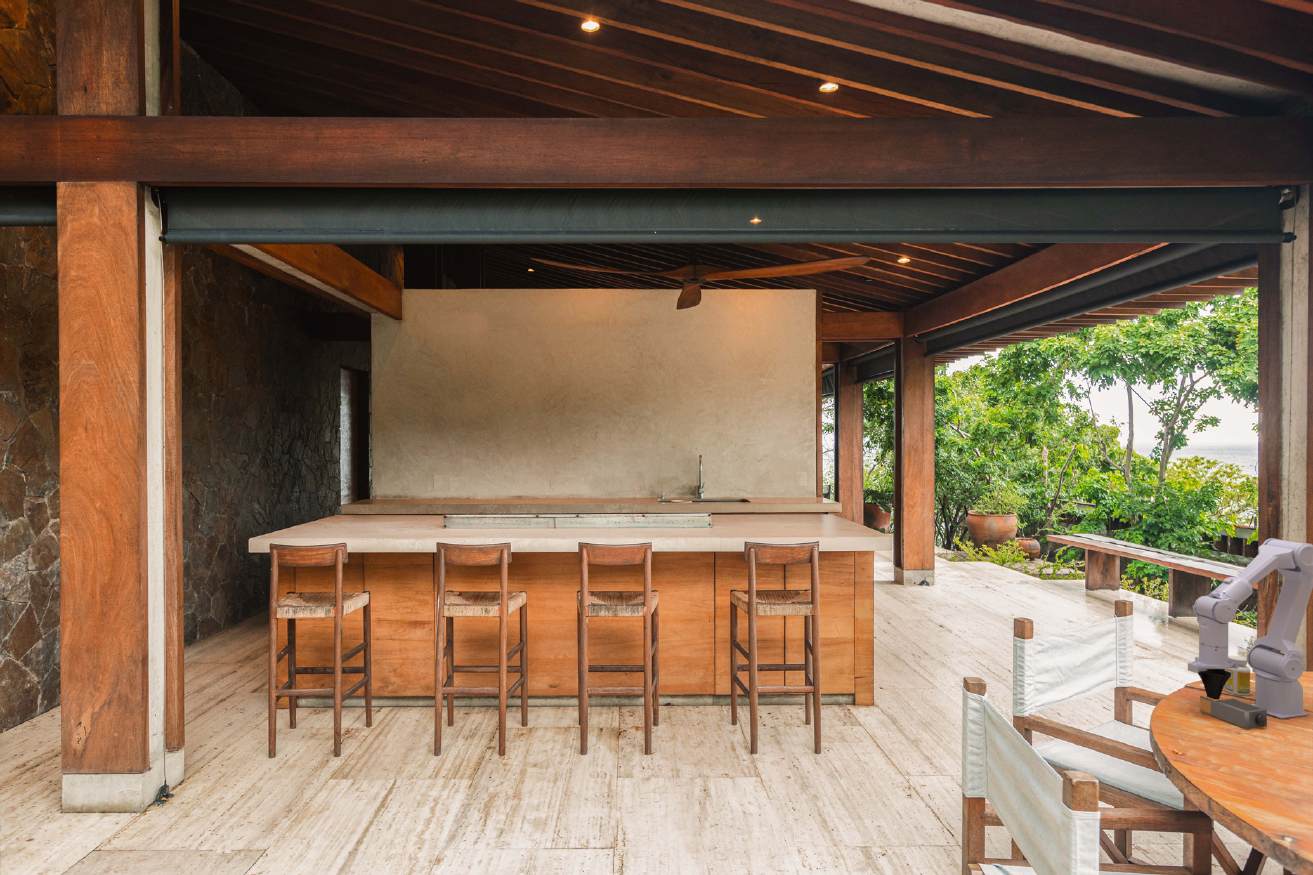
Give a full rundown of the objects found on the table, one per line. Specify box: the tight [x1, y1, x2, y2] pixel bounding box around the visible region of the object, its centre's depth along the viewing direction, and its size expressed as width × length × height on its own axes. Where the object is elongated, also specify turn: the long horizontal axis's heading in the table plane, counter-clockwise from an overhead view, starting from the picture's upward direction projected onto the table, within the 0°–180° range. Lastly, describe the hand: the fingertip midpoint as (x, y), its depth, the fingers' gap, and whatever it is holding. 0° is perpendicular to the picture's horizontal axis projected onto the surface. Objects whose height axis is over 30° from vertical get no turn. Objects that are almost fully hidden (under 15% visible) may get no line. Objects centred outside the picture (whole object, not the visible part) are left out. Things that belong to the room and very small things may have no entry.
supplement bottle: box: [1223, 655, 1251, 697], centre depth 182 cm, size 5×5×10 cm
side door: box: [1199, 695, 1250, 730], centre depth 164 cm, size 1×11×4 cm, turn 15°
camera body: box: [1215, 697, 1268, 730], centre depth 163 cm, size 6×8×4 cm
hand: (1213, 697), depth 168 cm, fingers closed
